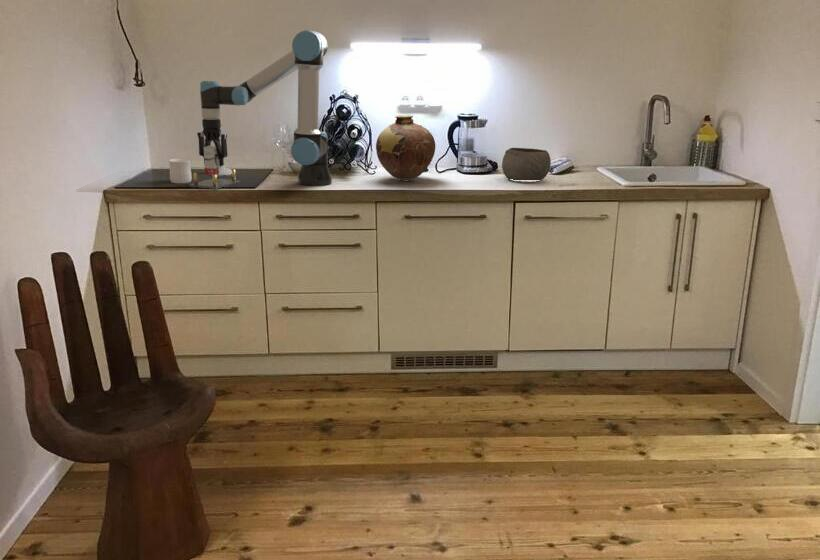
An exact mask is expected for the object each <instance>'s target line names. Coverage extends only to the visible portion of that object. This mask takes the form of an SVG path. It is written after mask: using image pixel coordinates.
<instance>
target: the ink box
mask: <svg viewBox="0 0 820 560" xmlns="http://www.w3.org/2000/svg"><path fill="white" fill-rule="evenodd" d="M218 158H219V157H218V154H217V150H216V147H215V144H211V145H210V146H205V147H204V157H203V164H204V163H205V165H204V175H208V174H209V176H213V175H212V174H218V168H217V159H218ZM222 167H223V166H222ZM223 172H224V171H223Z"/></svg>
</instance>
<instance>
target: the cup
mask: <svg viewBox="0 0 820 560" xmlns="http://www.w3.org/2000/svg"><path fill="white" fill-rule="evenodd" d="M168 162H169V180H170V182H171V183H172V184H188V183H189V184H190V183H191V182H192V179H193V177H192V176H193V175H192V170H191V159H187V158H178V157H177V158H171V159H168Z"/></svg>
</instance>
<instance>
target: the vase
mask: <svg viewBox="0 0 820 560" xmlns="http://www.w3.org/2000/svg"><path fill="white" fill-rule="evenodd" d="M413 117H414V115H411V114H398V115H394V118H395V121H394V123H392V124H389V125H388V126H386V127H385V128H384V129H383V130H382V131H380V133H379V135H378V136H377V139H376V142H375V143H376V144H375V150H376V157H377V159H378V162H379V163H380V164H381V166H382V167H383V169H384V170H385V171H386V172H387V173H388V174H389V175H390V176H391V177H394V178H395V179H397V180H399V179H400V180H399V181H402V180H410V181H412V179H413V180H416V179H417V178H418V177H420V176H421V175H422V174H423V173H424V172H425V171H426V169H427V168H428V167H429V166H430V164H431V162H432V161H433V158H434V156H435V153H436V140H435V138H434V135H433V134H432V132H430V130H429V129H427V128H425V127H424V126H422V125H421V124H418V123H415V122H414V119H413Z"/></svg>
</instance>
